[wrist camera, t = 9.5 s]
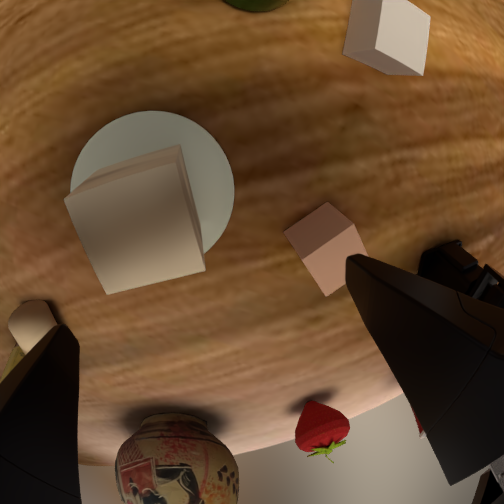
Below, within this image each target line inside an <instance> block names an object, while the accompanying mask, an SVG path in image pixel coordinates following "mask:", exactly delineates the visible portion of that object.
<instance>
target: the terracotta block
mask: <svg viewBox="0 0 504 504" xmlns="http://www.w3.org/2000/svg"><path fill="white" fill-rule="evenodd" d="M283 233H284V234H285V236H286V237H287V239H288V240H289V242H290V243H291V245H292V246H293V248H294V249H295V251H296V252H297V254H298V255H299V257H300V258H301V260H302V261H303V263H304V264H305V266H306V267H307V269H308V270H309V272H310V273H311V275H312V276H313V278H314V279H315V281H316V282H317V284H318V285H319V287H320V288H321V290H322V291H323V293H324V294H325V296H326V297H327V296H328V295H330V294H331V293H332V292H334V291H335V290H337V289H338V288H340V287H341V286H343V285H344V284H346V282H345V263H346V258H347V257H348V256H350V255H354V254H357V253H360V254H363V255H365V256H368V255H367V252H366V250H365V248H364V245H363V243H362V241H361V238H360V236H359V234H358V232H357V229H356V227H355V225H354V223H352V222H351V221H350V220H349V219H348V218H347V217H345V216H344V215H343V214H342V213H341V212H339V211H338V210H337V209H336V208H335V207H334V206H332V205H331V204H330V203H329V202H326V203H325V204H323V205H322V206H320V207H319V208H317V209H316V210H314V211H313V212H311V213H310V214H309V215H307V216H306V217H304V218H303V219H301V220H300V221H298V222H297V223H295V224H294V225H293V226H291V227H290V228H288V229H287V230H285V231H284V232H283Z"/></svg>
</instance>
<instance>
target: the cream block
mask: <svg viewBox="0 0 504 504" xmlns="http://www.w3.org/2000/svg"><path fill="white" fill-rule="evenodd" d="M429 27H430V16H429V15H428V14H426V13H425V12H423V11H422V10H421V9H419V8H418V7H416V6H415V5H413V4H412V3H410V2H409V1H407V0H352V6H351V12H350V17H349V23H348V28H347V33H346V39H345V44H344V49H343V54H342V55H345V56H347V57H350V58H352V59H354V60H357V61H359V62H361V63H364V64H366V65H368V66H370V67H372V68H375V69H377V70H379V71H381V72H383V73H385V74H387V75H417V76H423V72H424V66H425V60H426V53H427V45H428V37H429Z"/></svg>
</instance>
